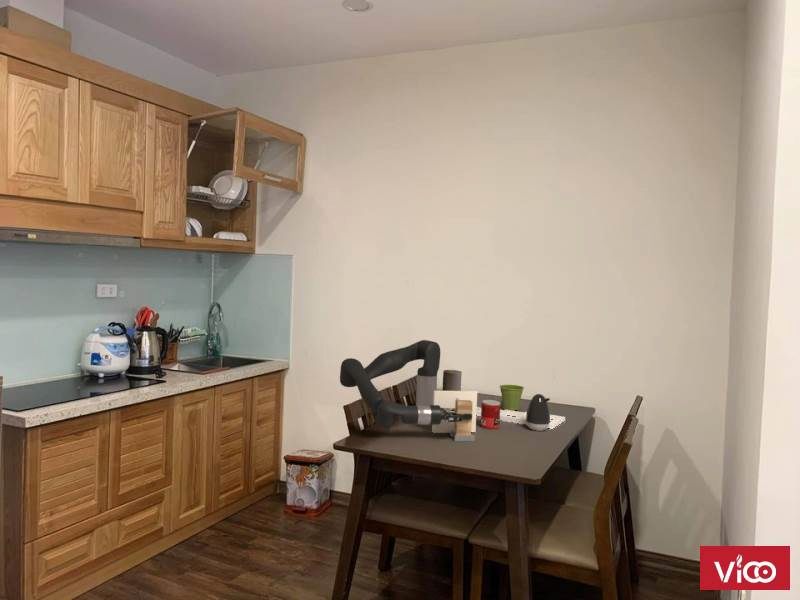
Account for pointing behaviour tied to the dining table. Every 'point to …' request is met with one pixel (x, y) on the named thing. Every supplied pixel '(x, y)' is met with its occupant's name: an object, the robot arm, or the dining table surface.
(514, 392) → the plant pot
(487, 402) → the canned food
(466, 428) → the tall wooden block
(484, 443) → the dining table surface
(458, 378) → the pillar candle
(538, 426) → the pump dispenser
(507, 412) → the holder
